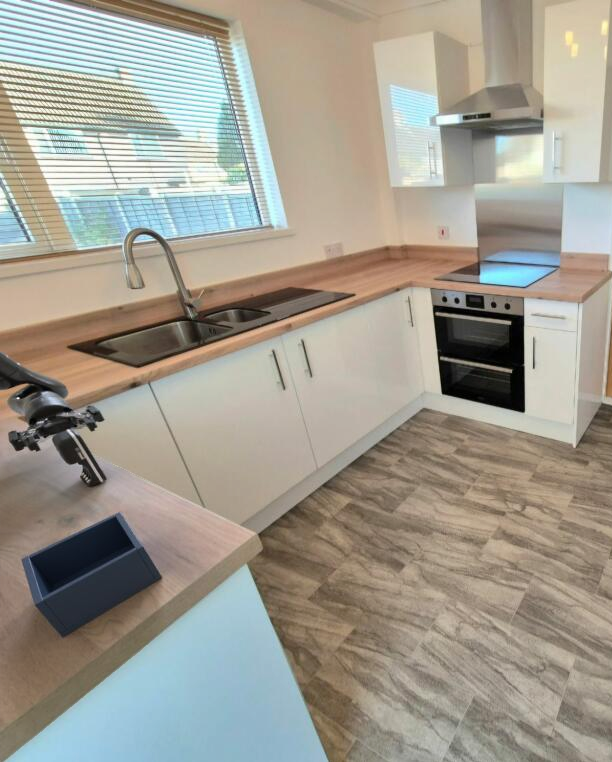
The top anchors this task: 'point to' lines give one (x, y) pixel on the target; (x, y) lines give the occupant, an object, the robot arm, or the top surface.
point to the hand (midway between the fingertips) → (64, 437)
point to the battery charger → (78, 456)
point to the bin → (88, 573)
